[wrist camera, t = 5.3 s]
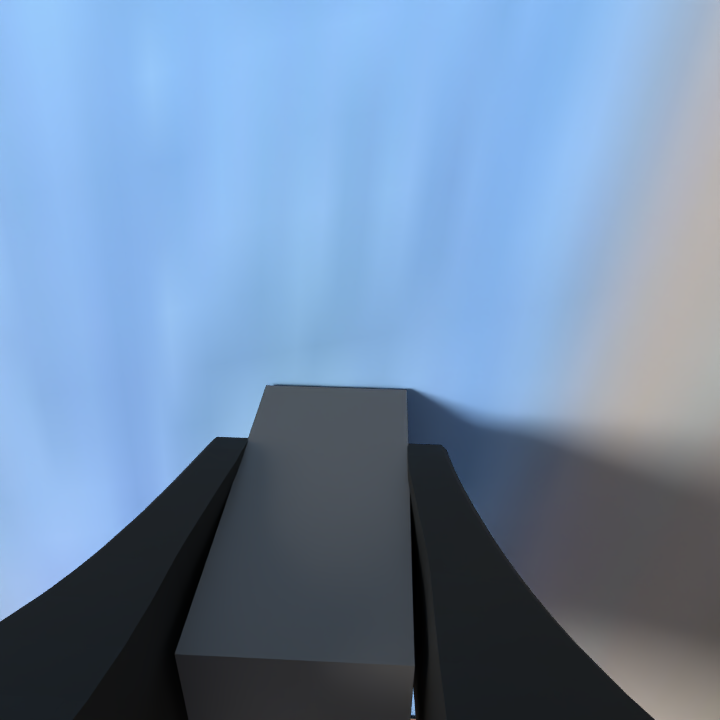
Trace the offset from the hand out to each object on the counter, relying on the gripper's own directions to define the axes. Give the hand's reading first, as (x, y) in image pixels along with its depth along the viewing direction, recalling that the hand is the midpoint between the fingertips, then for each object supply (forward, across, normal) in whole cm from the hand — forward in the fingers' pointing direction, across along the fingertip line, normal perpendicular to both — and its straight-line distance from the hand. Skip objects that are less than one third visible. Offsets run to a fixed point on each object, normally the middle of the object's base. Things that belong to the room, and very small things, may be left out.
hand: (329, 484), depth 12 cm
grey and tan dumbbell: (+2, 0, +7) cm, 7 cm away
